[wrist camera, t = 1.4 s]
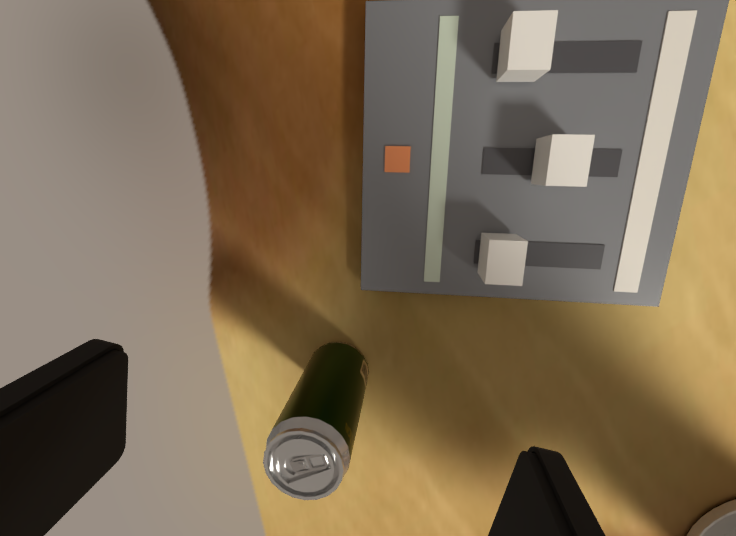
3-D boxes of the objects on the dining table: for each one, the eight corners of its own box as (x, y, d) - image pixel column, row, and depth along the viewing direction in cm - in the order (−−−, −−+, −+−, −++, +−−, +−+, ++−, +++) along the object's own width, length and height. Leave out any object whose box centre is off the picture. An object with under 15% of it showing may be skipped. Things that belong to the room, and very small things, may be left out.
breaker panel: (705, 5, 24) (785, -40, 19) (642, 297, 29) (692, 324, 24) (369, 13, 27) (358, -26, 21) (363, 282, 32) (354, 304, 26)
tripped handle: (573, 139, 25) (595, 134, 22) (566, 185, 26) (586, 186, 23) (536, 138, 25) (552, 134, 22) (530, 184, 26) (545, 185, 23)
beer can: (359, 332, 33) (329, 419, 21) (377, 385, 34) (359, 495, 22) (303, 346, 34) (246, 437, 22) (322, 397, 35) (278, 509, 23)
